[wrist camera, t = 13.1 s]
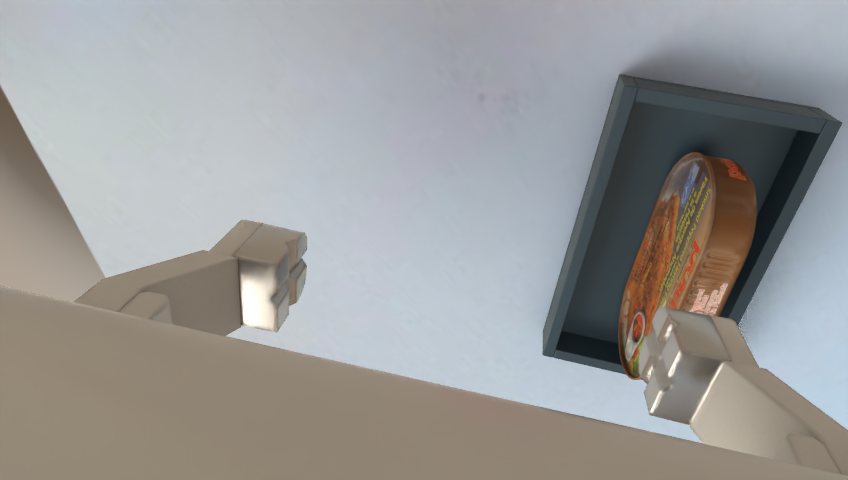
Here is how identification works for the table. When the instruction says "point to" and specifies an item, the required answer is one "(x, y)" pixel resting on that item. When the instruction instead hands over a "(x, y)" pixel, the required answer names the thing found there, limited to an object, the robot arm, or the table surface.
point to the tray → (641, 185)
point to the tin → (688, 248)
